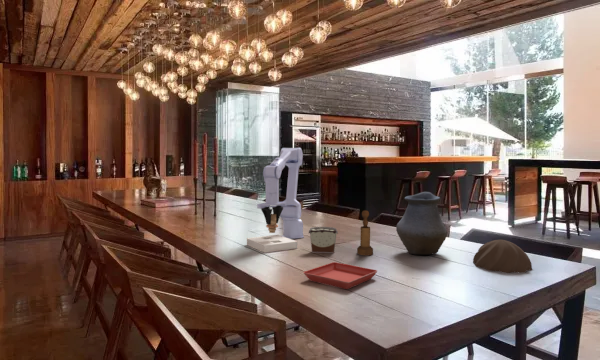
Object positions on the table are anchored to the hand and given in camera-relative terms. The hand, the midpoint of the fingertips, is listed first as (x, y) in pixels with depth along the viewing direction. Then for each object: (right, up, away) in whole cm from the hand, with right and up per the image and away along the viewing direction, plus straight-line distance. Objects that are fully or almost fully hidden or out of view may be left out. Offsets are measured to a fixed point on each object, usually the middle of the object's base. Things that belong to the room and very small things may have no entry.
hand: (272, 223), depth 189 cm
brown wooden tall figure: (+39, -11, -12) cm, 43 cm away
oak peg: (0, -4, 0) cm, 4 cm away
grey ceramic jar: (+63, -11, -11) cm, 65 cm away
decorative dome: (+87, -13, -31) cm, 93 cm away
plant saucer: (+26, -14, -48) cm, 56 cm away
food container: (+22, -11, -7) cm, 26 cm away
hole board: (0, -10, +2) cm, 11 cm away
